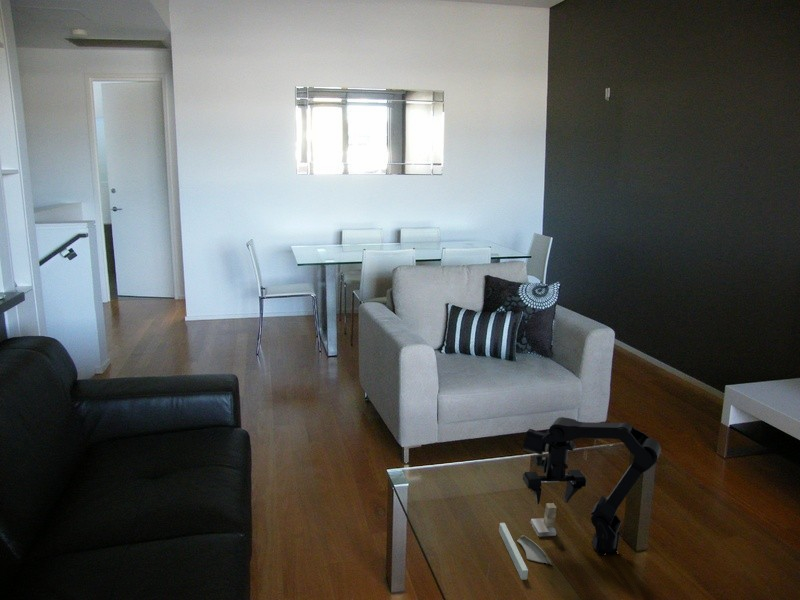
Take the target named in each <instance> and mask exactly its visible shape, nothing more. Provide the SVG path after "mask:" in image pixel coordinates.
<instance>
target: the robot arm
mask: <svg viewBox="0 0 800 600" xmlns="http://www.w3.org/2000/svg"><path fill="white" fill-rule="evenodd" d="M578 439H598V440H600V439H603V440H605V439H606V440H619V441H621V442H622V443H623V444H624V446H625V447H626V448H627V450H628V451H629V452H630V453H631V454H632V455H633V456H634V457H633V459H632V462H631V464H630V465H629V467H628V468H627V470H626V471H625V472H624V474H623V475H622V476H621V479H619V481H618V483H617V484H616V485H615V487H614V488H613V490H612V491H611V492H610V494H609V495H608V496H607V497H606V496H604V495H603V494H601V495H600V498H599V500H598V501H597V502H596V503H595V504H594V505H593V508H592V510H591V512H590V515H591V517H590V522H591V524H592V525H593V527H594V528H595V533H593V538H592V540H591V541H590V543H591V545H592V546H593V548H594V550H595V551H596V552H597V554H598V555H599V556H602V555H604V554H605V553H606V556H617V555H616V554H617V552H616V551H617V550H618V551H619V549H618V548H619V541H620V535H621V534H620V532H619V530H620V527H621V524H622V520H621V519H620V518H619V516H618V515H617V511H618V509H619V507H620V506H621V504H622V503H623V502H624V500H625V498H626V497H627V496H628V494H629V493H630V492H631V490H632V488H633V487H634V486H635V485H636V483H637V481H638V480H639V479H640V477H641V476H642V475H643V474H644V473H646V472H647V471H648V470H650V469H651V468H652V467H653V466H654V465H655V464H657V462H658V458H659V456H660V454H661V452H662V447H661V444H660V443H659V442H658V441H657V440H656V439H653V438H651V437H650V436H649V435H647V434H646V433H645V432H643V431H642V430H639V429H637V428H635V427H634V426H633V425H632V424H630V423H628V422H625V421H623V422H591V421H590V422H586V421H585V422H583V421H578V420H576V419H574V418H570V417H565V416H561V417H557V418H556V419H555V420H554V421H553V422H552V424H551V425H550V427H549V429H548V430H547V431H546V432H541V431H537V430H535V429H533V428H528V430H527V431H526V435H525V437H524V441H523V443H522V444H523V445H522V448H523V450H524V451H527V452H531V453H534V454H537V455H534V458H533V464H534V466H535V467H539V468H540V469H542V473H544V474H545V475H539V473H538V472H537V471H533V470H532V471H525V472H524V473H523V474H522V481H523V482H524V484H525V485H526V488H527V489H530V490H531V491H533V495H534V498H535V502H536V505H540V502H541V497H542V491H543V490H542V488H541V487H542V483H545V484H546V483H560V482H566V488H565V492H564V493H565V494H564V503H565V504H568V502H569V501H571V499H572V497H573V496H574V495H575V494H576V493H578V491H579V490H581V489H582V488H584V487H586V486H587V482H588V479H587V477H586V476H585V475H584V473H583V471H581V470H580V469H569V470H568V468H569V465H568V464H567V461H568V453H569V451H571V452H573V451H574V449H575V448H576V446H577V445H576V444H575V443H574V441H575V440H578ZM547 452H548V453H547ZM544 453H545V454H546V453H547V456H542V455H543V454H544ZM566 469H567V473H566ZM602 557H603V556H602Z"/></svg>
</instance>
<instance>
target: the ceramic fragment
mask: <svg viewBox="0 0 800 600" xmlns="http://www.w3.org/2000/svg"><path fill="white" fill-rule="evenodd" d="M516 542H517V543H518V544H519V546H521V547H522V549H523V551H524V553H525V556H526V560H527V561H530V562H534V563H535V562H536V563H538V564H539V563H540V564H544V563H546V564H545V565H548V564H550V565H549V566H551V565H552V566H551V567H553V566H554V565H553V564H552V561H551V560H550V558H549V556H548V555H547V554H546V552H545V550H543V548H541V547H540V546H539V545H538V544H537V543H536V542H535V541H533V540H532V539H531V538H529V537H527V536H526V535H525V534H523V535H521V536H520V537H518V539H517V540H516Z"/></svg>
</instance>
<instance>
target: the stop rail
mask: <svg viewBox="0 0 800 600" xmlns="http://www.w3.org/2000/svg"><path fill="white" fill-rule="evenodd" d="M498 532H499V535H500V537H501V538H502V541H503V543H504V545H505V547H506V549H507V552H508V554H509V556H510V558H511V560H512V563H513V564H514V567H515V569H516V570H517V573H518V576H519V577H520V580H523V581H524V580H527V579H528V575H529V569H528V567H527V565H526V563H525V562H524V559H523V557H522V555H521V552H520V551H519V549H518V547H517V544H516V542H515V541H514V539H513V537H512V535H511V532H510V530H509V529H508V527H507V525H506V523H505V522H500V523H499V528H498Z"/></svg>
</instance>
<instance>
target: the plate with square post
mask: <svg viewBox="0 0 800 600" xmlns="http://www.w3.org/2000/svg"><path fill="white" fill-rule="evenodd" d="M556 515H557V506H556V505H555V503H554V502H552V503H551V502H548V503H545V509H544V517H541V518H539V517H538V518H531V519H530V524H532V525H531V526H532V529H533V530H534V532H535V534H536V536H537V537H538V536H539V537H554V536H557V530H556V528H555V520H556Z"/></svg>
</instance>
